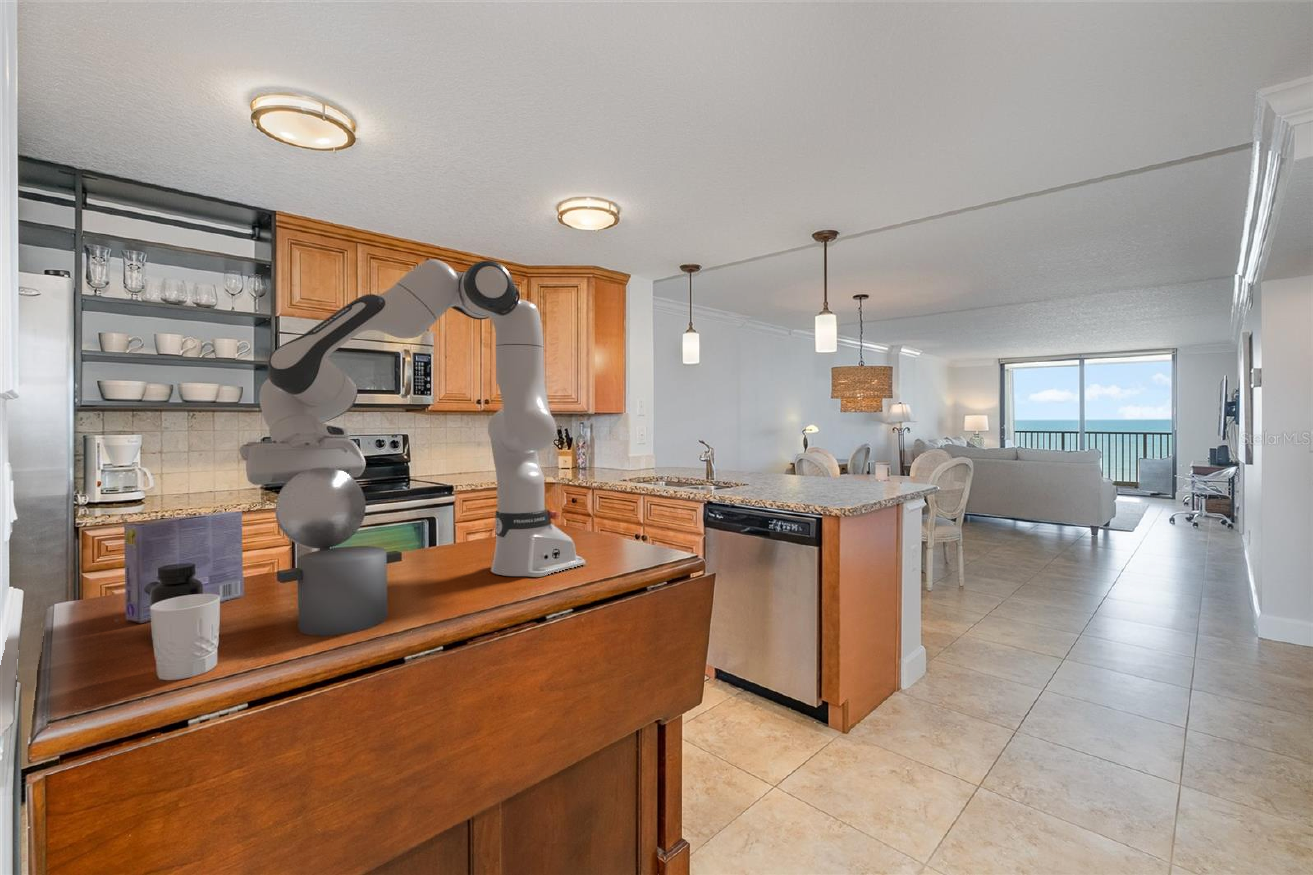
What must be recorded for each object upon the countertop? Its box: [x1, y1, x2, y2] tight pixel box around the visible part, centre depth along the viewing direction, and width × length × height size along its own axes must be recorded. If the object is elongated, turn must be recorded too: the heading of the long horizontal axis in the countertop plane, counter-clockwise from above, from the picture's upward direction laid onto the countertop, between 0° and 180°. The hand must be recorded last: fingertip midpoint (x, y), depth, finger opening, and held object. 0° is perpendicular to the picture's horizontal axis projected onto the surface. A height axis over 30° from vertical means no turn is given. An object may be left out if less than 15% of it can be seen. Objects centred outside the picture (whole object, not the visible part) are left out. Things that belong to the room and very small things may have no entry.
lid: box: [275, 467, 367, 550], centre depth 111 cm, size 15×15×2 cm
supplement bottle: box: [150, 563, 203, 643], centre depth 98 cm, size 7×7×12 cm
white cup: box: [150, 594, 221, 681], centre depth 85 cm, size 8×8×10 cm
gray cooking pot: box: [276, 545, 403, 637], centre depth 105 cm, size 20×14×12 cm
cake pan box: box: [123, 510, 244, 624], centre depth 114 cm, size 19×5×18 cm, turn 157°
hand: (319, 494), depth 112 cm, fingers closed, pressing on lid
